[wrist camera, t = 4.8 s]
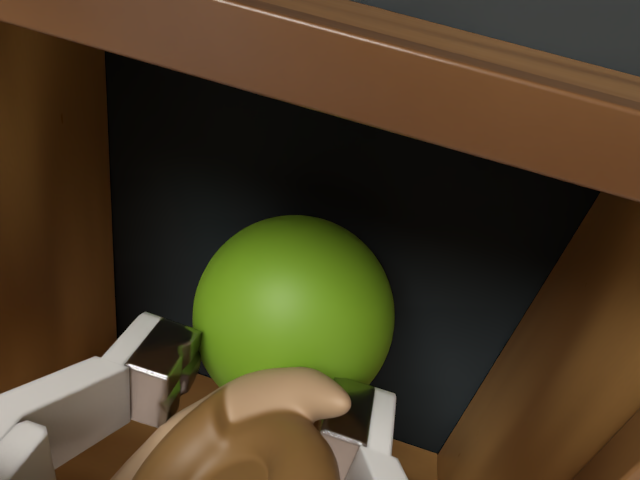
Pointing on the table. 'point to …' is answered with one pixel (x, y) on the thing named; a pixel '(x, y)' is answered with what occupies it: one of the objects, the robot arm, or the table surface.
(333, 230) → the snail figurine
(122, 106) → the table surface
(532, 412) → the open wooden box
